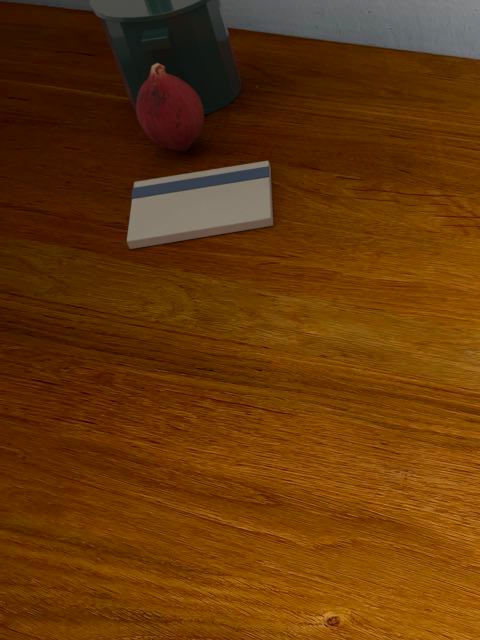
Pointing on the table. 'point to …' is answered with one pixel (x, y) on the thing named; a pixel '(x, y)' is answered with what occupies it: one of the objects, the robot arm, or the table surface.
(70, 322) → the table surface
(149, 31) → the pot
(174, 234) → the towel
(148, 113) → the onion
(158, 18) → the pot lid
